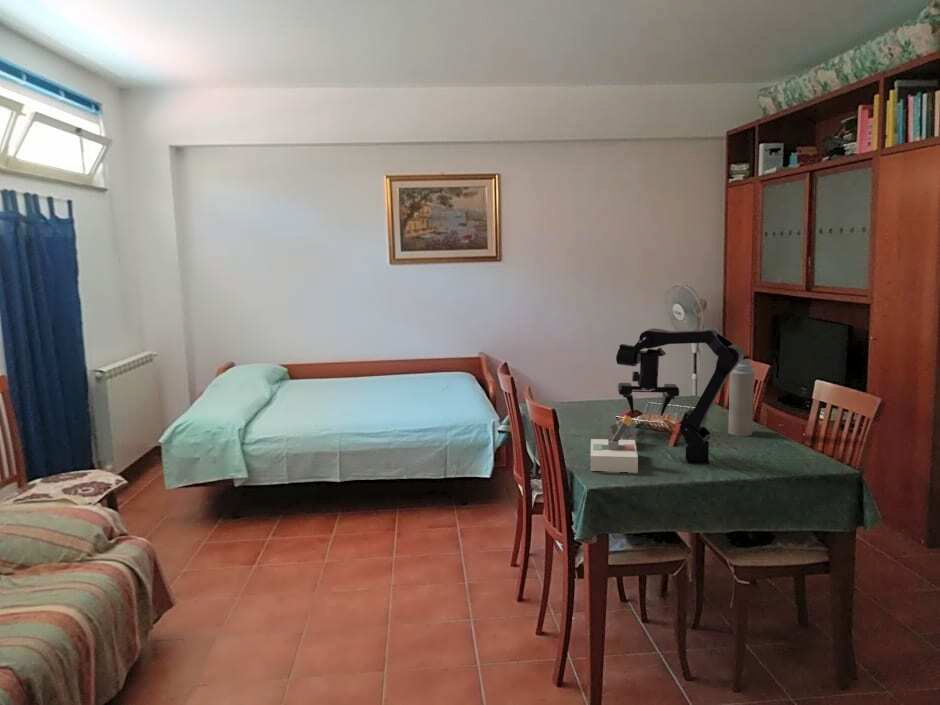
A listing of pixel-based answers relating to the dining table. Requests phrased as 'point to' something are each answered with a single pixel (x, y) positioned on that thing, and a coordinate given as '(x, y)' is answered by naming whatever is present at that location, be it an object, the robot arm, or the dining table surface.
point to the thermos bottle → (741, 399)
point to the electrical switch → (628, 433)
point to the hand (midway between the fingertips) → (646, 415)
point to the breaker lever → (622, 428)
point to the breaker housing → (614, 455)
